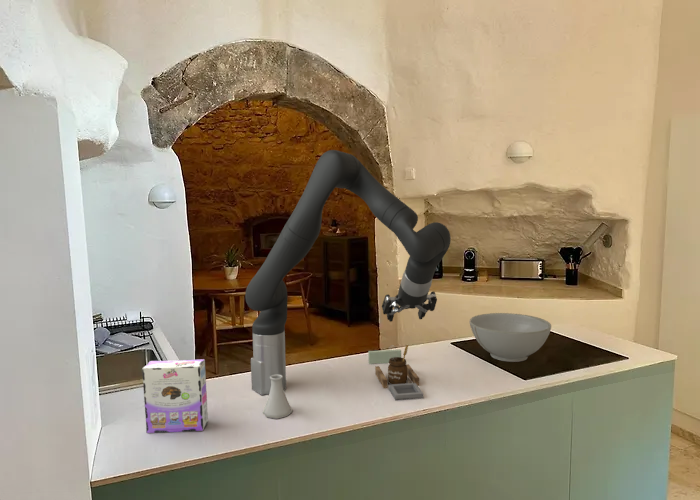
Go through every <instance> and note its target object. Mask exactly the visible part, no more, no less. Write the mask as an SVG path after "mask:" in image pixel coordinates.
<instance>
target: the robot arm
mask: <svg viewBox="0 0 700 500" xmlns="http://www.w3.org/2000/svg"><path fill="white" fill-rule="evenodd" d="M336 188H338V189H346V190H347V191H350V192H351V193H353V194H355V196H358V197H360V199H362V200H363V202H365V204H366V205H367V206H368V208H369V210H370V212H372V214H373V216H374V217H376V219H377V220H378V221H379V222H381V224H382V225H384V226H385V227H387V229H389V230H390V231H391V232H393V233H394V235H395V236H396V238H397V239H398V241H400V243H401V244H402V246H403V248H404V250H405V251H406V252H407V254H408V255H409V257H408V259H407V263H406V266H405V269H404V271H403V273H402V277H401V280H400V284H399V286H398V292H397V294H396V295H395V296H391V295H390V294H386V295H385V296H384V299H383V301H382V303H381V309H382V313H383V315H386V319H387V321H389V322H390V323H391V322H393V319H394V317H395V314H396V313H400V312H402V311H404V310H408V309H413V310H414V309H416V308H417V310H418V312H417V317H418V319H419V320H423V318H425V316H426V314H427V313H428V311H430V312H434V311H435V309H436V305H437V302H438V299H437V295H436V292H435V291H431V292H430V290H431V287H432V283H433V277H434V275H435V272H436V270H437V267H438V265H439V264H440V263H441V261H442V260H443V258H444V256H446V254H447V251H448V250H449V248H450V246H451V240H452V239H451V233H450V231H449V229H448V227H447V226H446V225H444V224H443V223H441V222H437V221H434V222H431V223H429V224H427V225H425V226H424V227H422V228H421V229H419V230H418V231H415V230H414V228H416V225H417V224H418V221H419V217H418V214H417V213H416V211H415V210H413V209H412V208H411V207H409V205H407V204H406V203H405V202H403V201H402V200H401V199H399V198H398V197H397V196H396V195H394V194H393V193H392V192H390V191H389V190H388V188H386V187H385V186H384V185H382V184H381V183H380V182H379V181H378V179H376V178H375V177H374V176H373V175H372V174H371V172H369V170H367V168H366V167H365V166H364V164H362V162H361V161H360V160H359V159H358V158H357V157H356V156H355V155H354V154H352V153H348V152H345V151H341V150H336V149H329V150H327V151H325V152H323V153H322V155H320V157H319V158H318V160H317V162H316V163H315V165H314V168H313V171H312V172H311V174H310V177H309V179H308V181H307V184H306V186H305V188H304V190H303V193H302V195H301V197H300V198H299V200H298V202H297V204H296V206H295V208H294V210H293V211H292V213H291V215H290V216H289V218H288V219H287V221H286V223H285V224H284V227H283V228H282V230H281V231H280V234H279V236H278V237H277V239H276V241H275V243H274V245H273V247H272V248H271V250H270V251H269V253H268V255H267V257H266V258H265V260H264V262H262V263H263V264H262V265H260V266H261V267H260V268H259V269H258V270H257V272H256V274H254V276H253V277H252V278H251V280H250V281H249V283H248V285H247V287H246V289H245V302H246V304H247V306H248V308H250V309H251V310H253V311H256V312H259V314H258V316H257V317H256V319H255V320H254V321H253V323H252V328H251V330H252V350H253V351H252V353H253V356H252V357H251V358H250V372H251V373H250V376H251V379H250V380H251V381H250V382H251V390H252V391H255V392H256V393H257V394H259V395H261V396H263V395H269V393H270V389H271V379H270V376H272V375H276V374H278V375H282V376H283V379H282V386H283V390H284V391H285V390H286V389H287V372H286V371H287V370H286V368H287V367H286V336H285V335H286V333H285V332H286V331H285V329H286V327H285V325H286V322H287V320H288V288H287V286H286V283H285V282H284V278H285V277H286V276H287V275H288V273H289V272H290V271H291V270H293V269H294V267H296V266H297V265H298V264H299V263H300V262H301V261H302V260H303V259H304V258H305V257H306V256H307V254H308V253H309V252H310V250H312V247H313V246H314V244H315V242H316V240H317V239H318V238H319V235H320V232H321V230H322V221H323V210H324V207H325V204H326V202H327V201H328V199H329V197H330V196H331V194H332V192H333V191H334V189H336ZM429 292H430V294H429ZM426 302H427V303H426Z"/></svg>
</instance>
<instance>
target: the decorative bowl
mask: <svg viewBox="0 0 700 500" xmlns="http://www.w3.org/2000/svg"><path fill="white" fill-rule="evenodd" d="M469 326H470V329H471V332H472V335H473V337H474V338H475V341H477V343H478V344H479V346H481V347H482V349H484V350H485V351H487V352H488V353H490V356H491V358H493V359H495V360H499V361H502V362H508V363H509V362H510V363H514V362H515V363H516V362H517V363H518V362H524V361H526V360H527V359H528V357H529V356H531V355H533V354H534V353H536V352H537V351H539V350H540V348H542V347H543V345H544V344H545V342H546V341H547V339H548V337H549V335H550V332H551V329H552V324H551V322H549V321H548V320H545V319H543V318H540V317H537V316H533V315H528V314H520V313H512V312H511V313H509V312H506V313H505V312H495V313H494V312H493V313H492V312H491V313H483V314H478V315H475V316H472V317H471V318H470V319H469Z"/></svg>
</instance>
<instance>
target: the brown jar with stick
mask: <svg viewBox="0 0 700 500" xmlns="http://www.w3.org/2000/svg"><path fill="white" fill-rule="evenodd" d="M408 347H409V344H407V345H405V347H404V351H403V357H402V356H401V357H397V356H396V357H393V358H390V359H389V363H388V367H387V383H389V385H392V384H406V383H408V378H409V377H408V372H407V366H406V364H407V359H406V355H407V354H408ZM392 348H394V349H397V348H396V346H394V345H393V344H392V345H390V346H389V350H390V351H391V350H393V349H392ZM390 351H389V352H390ZM396 352H397V351H396ZM389 355H390V354H389ZM392 355H393V354H392ZM392 355H390V356H392Z"/></svg>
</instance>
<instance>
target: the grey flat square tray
mask: <svg viewBox="0 0 700 500" xmlns="http://www.w3.org/2000/svg"><path fill="white" fill-rule="evenodd" d="M388 391H389V393H390V394H391V395H392V397H393V399H394V401H404V400H406V401H407V400H416V399H424V392H423V391H422V390H421V387H420V386H417V384H416V383H413V382H410V383H409V382H407V383H406V384H388Z"/></svg>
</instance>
